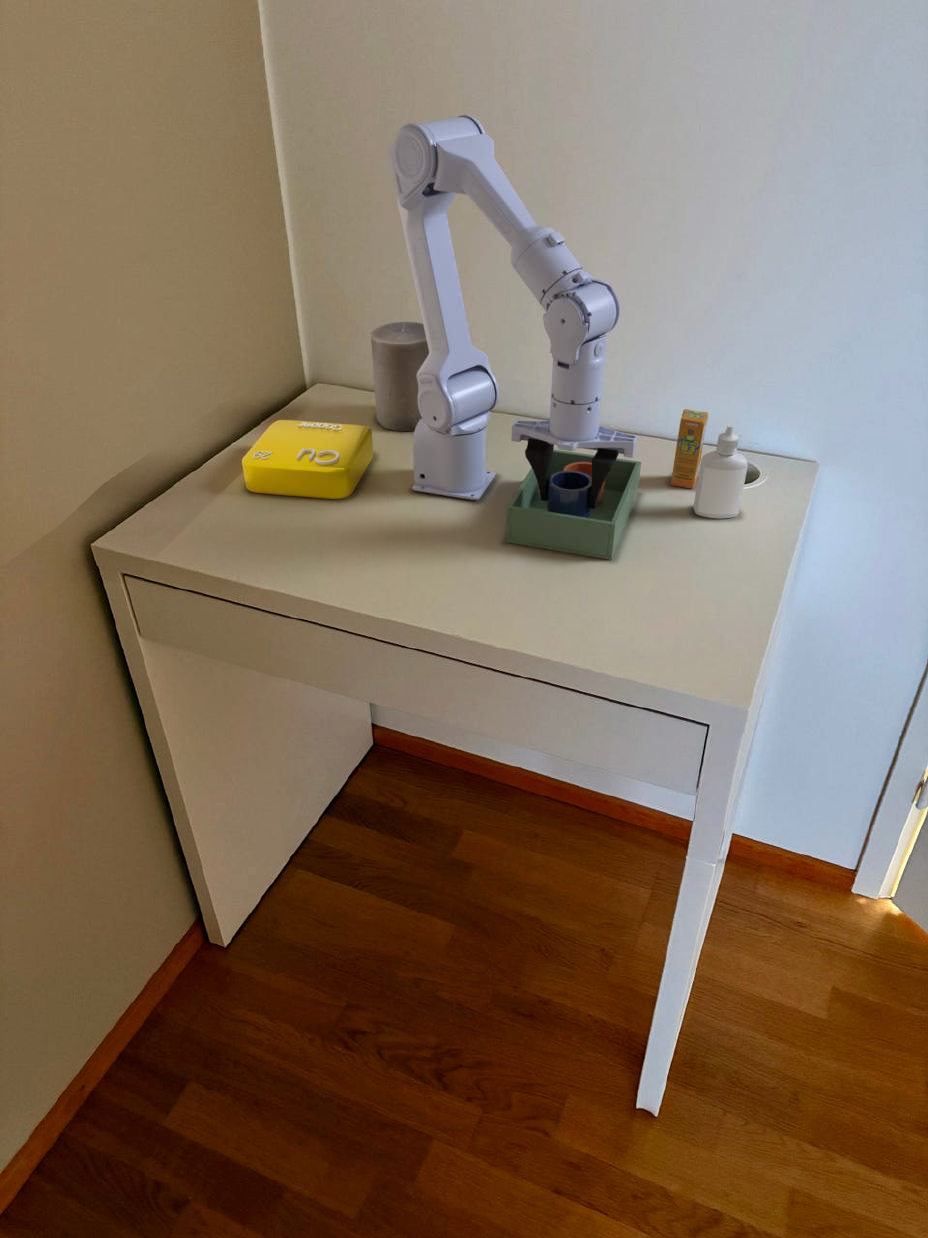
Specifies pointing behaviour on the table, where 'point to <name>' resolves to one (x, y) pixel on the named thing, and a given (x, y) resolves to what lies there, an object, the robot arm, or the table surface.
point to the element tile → (308, 459)
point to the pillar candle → (398, 373)
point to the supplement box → (689, 448)
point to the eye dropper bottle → (721, 479)
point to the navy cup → (569, 493)
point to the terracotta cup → (587, 469)
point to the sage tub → (574, 532)
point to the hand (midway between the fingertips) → (569, 500)
